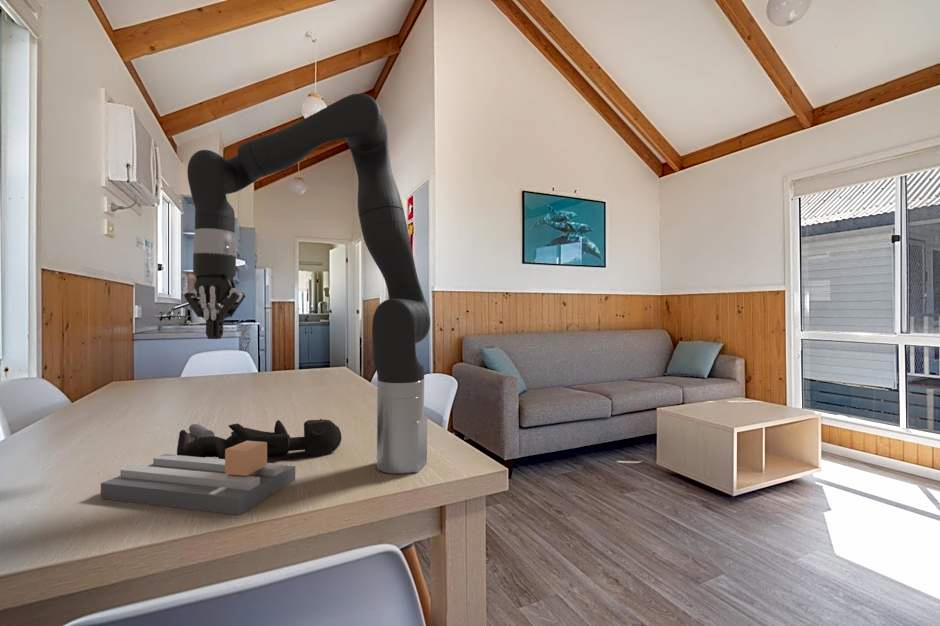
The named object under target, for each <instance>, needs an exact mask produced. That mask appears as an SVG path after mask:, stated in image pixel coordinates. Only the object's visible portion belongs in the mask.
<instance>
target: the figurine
mask: <svg viewBox="0 0 940 626" xmlns="http://www.w3.org/2000/svg"><path fill="white" fill-rule="evenodd" d="M228 428H229V429H231V430H232V431H231V433H230V436H228V437H227V438H226V439H225V438H222V437H219V436H216V435H215V436H209V437H200V438H196V439H193V440H191V441H189V436H188V432H187V431H186V430H185V429H181V430H180V431H179V436H178V439H177V446H176V455H181V456H193V457H204V458H217V459H225V449H227V448H230V447H232V446H235V445H237V444H240V443H242V442H245V441H259V442H267V457H276V456H277V457H279V456H280V457H281V456H283V460H293V459H294V460H295V459H300V458H312V457H321V456H322V455H323V456H326V455H330V454H331V453H333V452H335V451H336V450H337V449H338V448H339V447H340V445H341V442H342V433H341V430H340V427H339V426H338V425H337V424H336V423H334V422H333V421H331V420H330V419H322V418H320V419H310V420H309V419H308V420H307V421H305V422H304V423H303V435H304V436H296V437H295V436H294V437H293V436H292V437H291V436H290V434H289V433H288V431H287V429H286V428H285V426H284V425H283V423H282V421H280V419H278V420H276V421H275V424H274V428H273V429H274V430H273V431H274V432H271V431H265V430H264V431H263V430H258V429H254V428H249V427H244V426H243V425H241V424H240V423H232V424H229V425H228ZM296 451H300V452H296ZM289 452H292V453H289ZM323 456H322V457H323Z"/></svg>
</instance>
